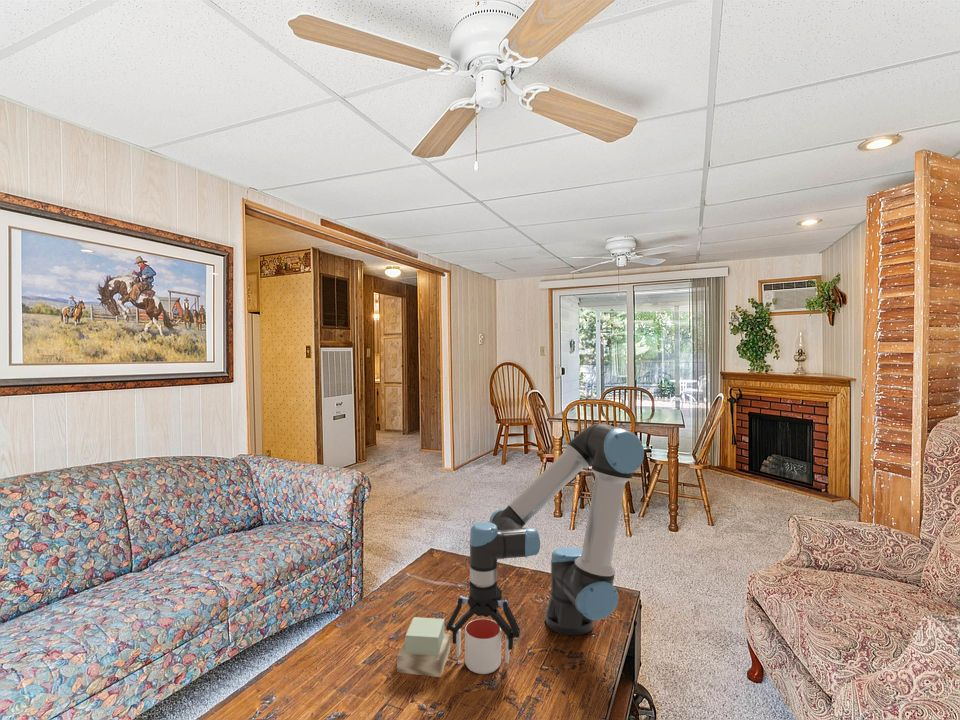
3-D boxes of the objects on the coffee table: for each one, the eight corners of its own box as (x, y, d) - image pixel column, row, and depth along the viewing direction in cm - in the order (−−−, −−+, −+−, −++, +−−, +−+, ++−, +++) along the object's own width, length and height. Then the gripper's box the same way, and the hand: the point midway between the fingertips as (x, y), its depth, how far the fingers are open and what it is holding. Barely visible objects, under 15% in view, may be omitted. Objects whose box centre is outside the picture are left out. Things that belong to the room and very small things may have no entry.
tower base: (450, 650, 140) (450, 633, 140) (440, 678, 128) (440, 660, 128) (410, 646, 142) (410, 629, 142) (396, 673, 130) (396, 655, 130)
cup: (497, 679, 127) (498, 641, 127) (460, 673, 129) (461, 636, 129) (503, 655, 137) (503, 620, 137) (469, 651, 139) (469, 616, 139)
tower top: (444, 636, 139) (444, 618, 139) (438, 655, 130) (438, 637, 130) (413, 634, 140) (413, 617, 139) (405, 653, 131) (405, 635, 131)
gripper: (529, 578, 135) (528, 653, 135) (442, 571, 139) (441, 644, 139) (527, 591, 127) (527, 671, 128) (435, 583, 131) (435, 660, 132)
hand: (482, 657), depth 133 cm, fingers open, 13 cm apart
